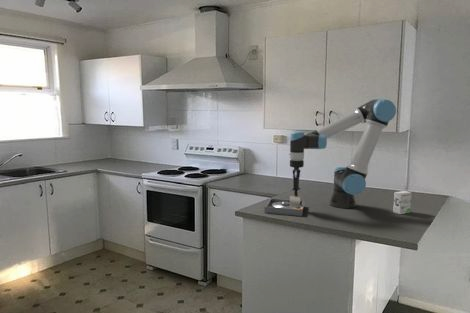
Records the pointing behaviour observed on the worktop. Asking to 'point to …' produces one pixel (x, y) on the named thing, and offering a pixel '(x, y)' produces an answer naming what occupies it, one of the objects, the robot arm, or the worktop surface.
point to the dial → (288, 203)
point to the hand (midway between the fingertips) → (295, 201)
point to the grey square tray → (283, 210)
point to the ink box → (402, 202)
